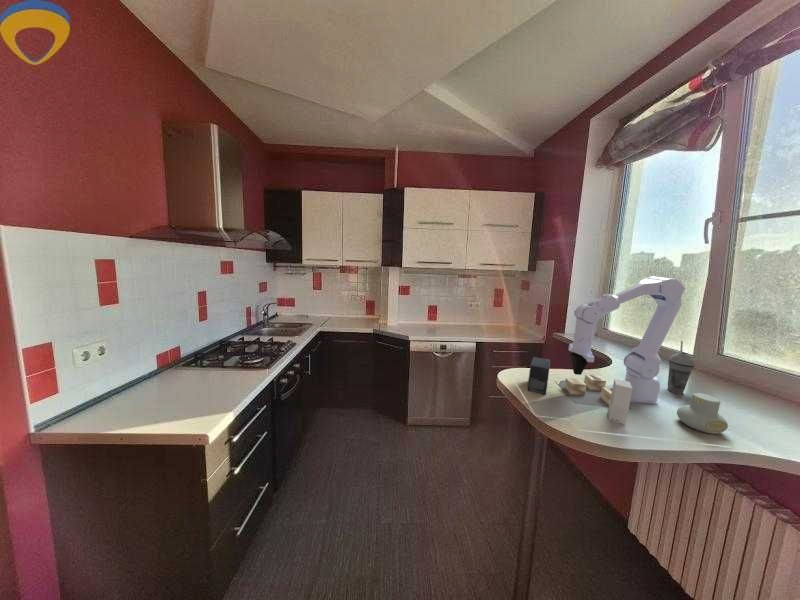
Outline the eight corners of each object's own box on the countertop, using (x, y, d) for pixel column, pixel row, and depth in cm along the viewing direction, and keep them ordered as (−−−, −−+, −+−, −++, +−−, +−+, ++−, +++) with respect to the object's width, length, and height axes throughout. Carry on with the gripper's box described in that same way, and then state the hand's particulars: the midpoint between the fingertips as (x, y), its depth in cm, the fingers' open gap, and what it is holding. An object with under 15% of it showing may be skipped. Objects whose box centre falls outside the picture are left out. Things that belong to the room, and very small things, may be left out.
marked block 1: (597, 385, 116) (598, 375, 116) (604, 391, 111) (606, 380, 111) (583, 383, 117) (585, 373, 116) (590, 389, 112) (592, 379, 111)
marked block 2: (615, 398, 106) (617, 387, 105) (624, 406, 101) (626, 394, 100) (600, 397, 106) (602, 386, 105) (608, 404, 101) (610, 393, 100)
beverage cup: (686, 397, 111) (698, 346, 107) (661, 389, 116) (671, 340, 113) (689, 392, 116) (700, 342, 112) (664, 385, 121) (674, 337, 118)
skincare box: (625, 425, 89) (633, 388, 87) (608, 421, 92) (615, 384, 90) (623, 416, 95) (630, 381, 92) (607, 412, 97) (613, 377, 95)
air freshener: (702, 420, 95) (709, 391, 93) (731, 436, 87) (739, 405, 85) (669, 419, 95) (675, 390, 93) (695, 435, 86) (702, 403, 85)
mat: (600, 384, 118) (600, 383, 118) (631, 410, 99) (631, 408, 99) (552, 380, 120) (552, 379, 119) (574, 404, 101) (574, 403, 101)
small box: (529, 381, 118) (532, 356, 116) (547, 385, 115) (551, 359, 113) (526, 391, 109) (529, 364, 107) (546, 396, 106) (550, 368, 104)
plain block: (578, 389, 112) (579, 379, 111) (584, 395, 107) (586, 385, 106) (564, 387, 112) (565, 377, 112) (570, 393, 108) (571, 383, 107)
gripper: (562, 331, 114) (557, 365, 116) (581, 343, 100) (574, 381, 102) (582, 333, 113) (576, 367, 115) (603, 345, 99) (596, 383, 101)
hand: (577, 373), depth 109 cm, fingers closed
